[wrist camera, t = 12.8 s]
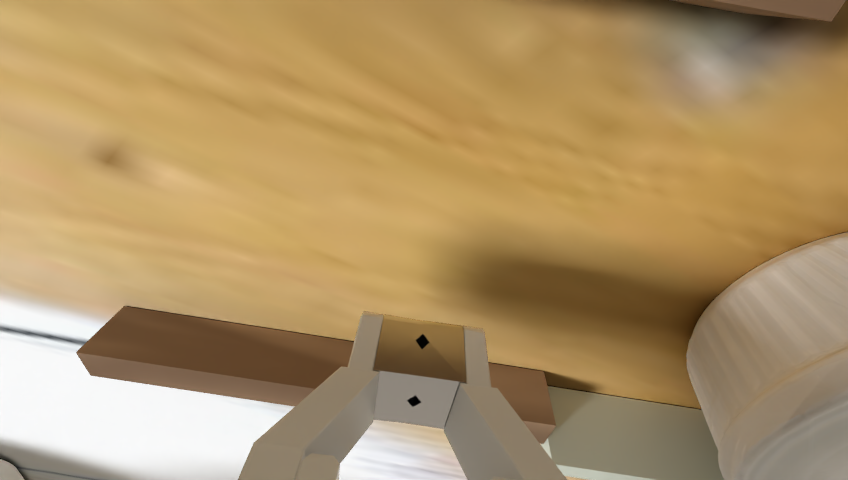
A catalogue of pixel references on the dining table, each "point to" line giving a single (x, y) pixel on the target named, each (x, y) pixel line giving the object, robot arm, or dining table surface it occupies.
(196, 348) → the runway rails
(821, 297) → the ramekin
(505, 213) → the dining table surface
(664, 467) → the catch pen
